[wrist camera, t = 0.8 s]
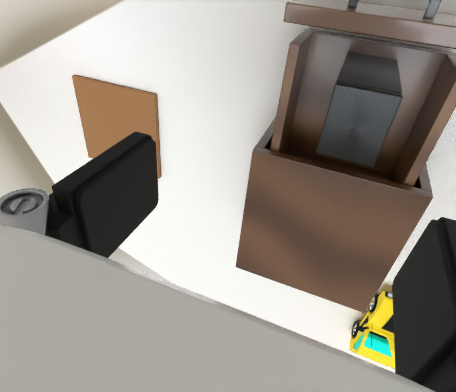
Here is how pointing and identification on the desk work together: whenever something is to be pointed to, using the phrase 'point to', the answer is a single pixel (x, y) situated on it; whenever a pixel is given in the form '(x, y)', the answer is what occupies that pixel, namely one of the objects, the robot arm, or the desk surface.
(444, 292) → the robot arm
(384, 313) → the toy car
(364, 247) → the cabinet
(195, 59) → the desk surface
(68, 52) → the desk surface
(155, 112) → the pad
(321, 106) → the drawer
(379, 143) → the tall lidded canister
